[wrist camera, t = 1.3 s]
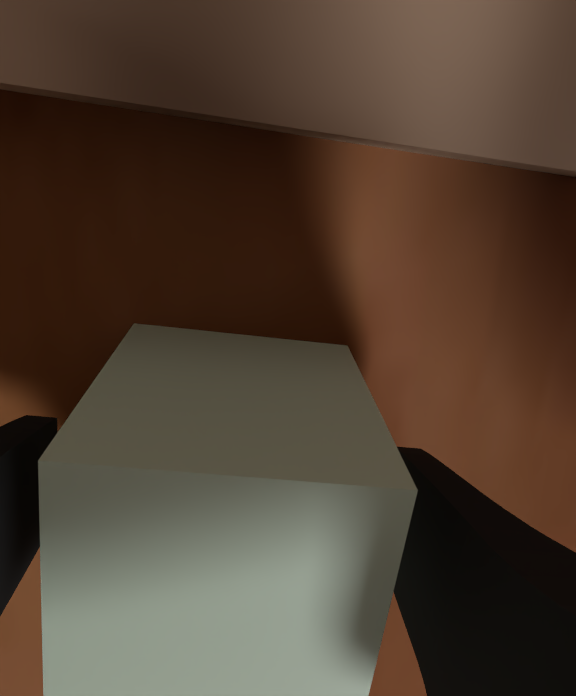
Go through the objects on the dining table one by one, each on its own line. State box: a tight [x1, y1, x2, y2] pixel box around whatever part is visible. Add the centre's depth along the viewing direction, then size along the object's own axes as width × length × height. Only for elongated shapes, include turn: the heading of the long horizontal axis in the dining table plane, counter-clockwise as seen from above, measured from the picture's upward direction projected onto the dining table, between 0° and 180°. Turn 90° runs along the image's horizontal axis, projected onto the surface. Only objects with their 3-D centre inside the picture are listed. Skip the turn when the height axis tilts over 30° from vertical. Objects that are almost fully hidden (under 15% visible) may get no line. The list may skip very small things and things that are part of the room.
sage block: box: [38, 323, 418, 696], centre depth 11 cm, size 5×5×6 cm
